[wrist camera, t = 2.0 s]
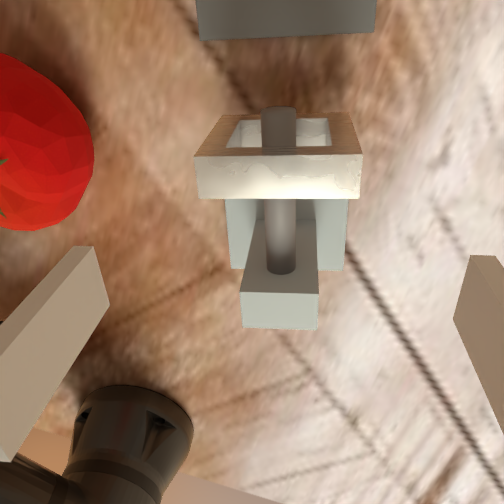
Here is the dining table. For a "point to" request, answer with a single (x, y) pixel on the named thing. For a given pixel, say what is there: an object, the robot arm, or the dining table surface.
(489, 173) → the dining table surface
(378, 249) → the dining table surface
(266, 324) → the stand
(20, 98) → the tomato
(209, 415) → the dining table surface
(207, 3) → the coaster
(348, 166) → the square ring
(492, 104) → the dining table surface
